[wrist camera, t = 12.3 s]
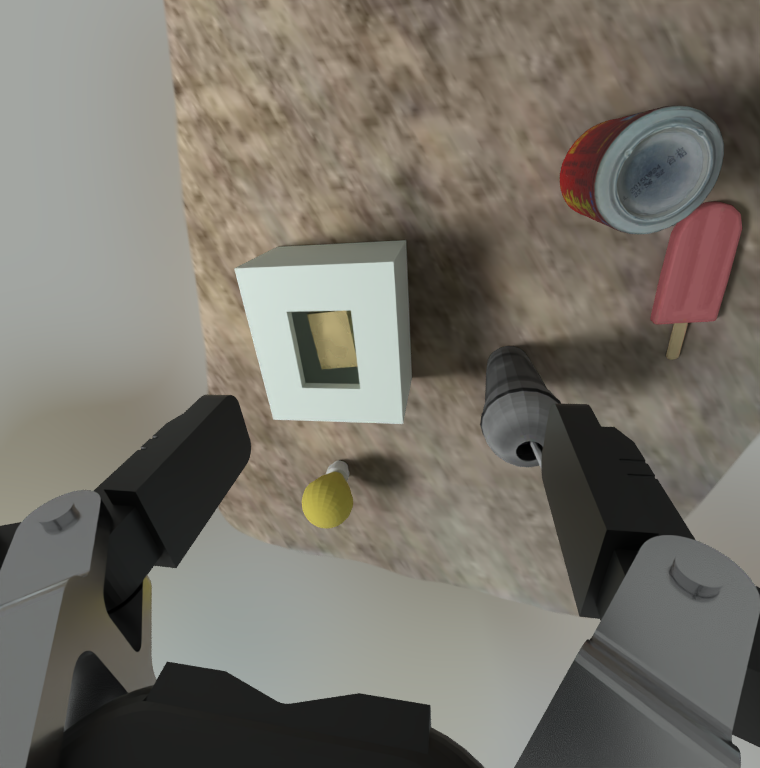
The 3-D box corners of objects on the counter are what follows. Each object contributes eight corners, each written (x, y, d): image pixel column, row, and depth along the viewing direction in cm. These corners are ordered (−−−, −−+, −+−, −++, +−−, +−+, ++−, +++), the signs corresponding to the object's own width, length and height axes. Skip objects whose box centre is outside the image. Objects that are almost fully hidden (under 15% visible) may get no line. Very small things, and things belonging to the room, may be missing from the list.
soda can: (664, 159, 33) (761, 160, 22) (592, 230, 36) (647, 260, 26) (605, 99, 31) (679, 71, 21) (537, 179, 35) (571, 189, 24)
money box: (276, 246, 42) (234, 268, 34) (406, 240, 39) (393, 261, 31) (303, 376, 50) (273, 419, 42) (411, 378, 47) (402, 423, 39)
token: (317, 303, 40) (306, 314, 37) (354, 298, 40) (346, 310, 37) (330, 354, 43) (321, 369, 40) (365, 351, 42) (358, 366, 39)
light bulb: (371, 477, 57) (356, 533, 48) (333, 488, 59) (313, 544, 50) (348, 443, 54) (328, 496, 45) (309, 456, 56) (284, 509, 48)
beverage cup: (484, 328, 42) (504, 443, 25) (551, 341, 42) (617, 467, 25) (467, 384, 46) (475, 516, 29) (528, 396, 46) (572, 538, 29)
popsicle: (646, 363, 40) (682, 207, 33) (639, 356, 42) (672, 205, 34) (705, 361, 39) (755, 199, 32) (696, 354, 41) (743, 197, 33)
